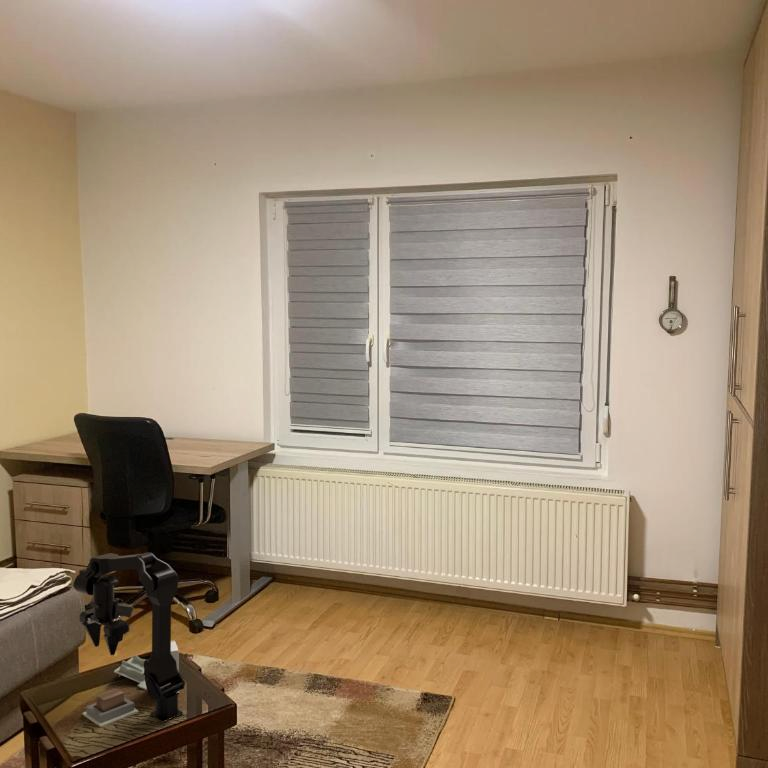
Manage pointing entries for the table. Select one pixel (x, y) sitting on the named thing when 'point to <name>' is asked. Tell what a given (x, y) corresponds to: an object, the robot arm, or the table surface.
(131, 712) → the socket board
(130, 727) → the table surface
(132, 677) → the metal bracket
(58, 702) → the table surface
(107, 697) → the walnut block
